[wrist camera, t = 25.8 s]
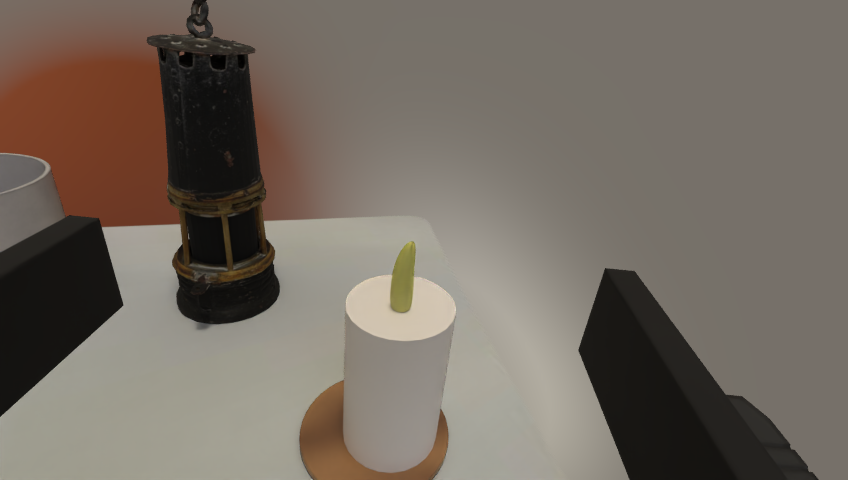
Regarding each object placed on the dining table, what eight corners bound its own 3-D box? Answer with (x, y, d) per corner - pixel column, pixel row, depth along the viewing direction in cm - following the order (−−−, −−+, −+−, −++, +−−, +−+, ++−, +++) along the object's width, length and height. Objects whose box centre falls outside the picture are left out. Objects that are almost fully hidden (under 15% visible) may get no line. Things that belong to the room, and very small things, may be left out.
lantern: (197, 337, 36) (117, -114, 23) (163, 286, 42) (81, -100, 28) (296, 300, 42) (280, -77, 28) (254, 260, 48) (224, -72, 34)
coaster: (475, 467, 28) (476, 462, 28) (324, 535, 24) (324, 529, 24) (409, 364, 36) (409, 360, 36) (285, 401, 32) (284, 396, 31)
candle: (415, 383, 34) (437, 204, 27) (450, 457, 28) (489, 257, 21) (333, 402, 31) (334, 211, 24) (355, 485, 26) (363, 272, 19)
